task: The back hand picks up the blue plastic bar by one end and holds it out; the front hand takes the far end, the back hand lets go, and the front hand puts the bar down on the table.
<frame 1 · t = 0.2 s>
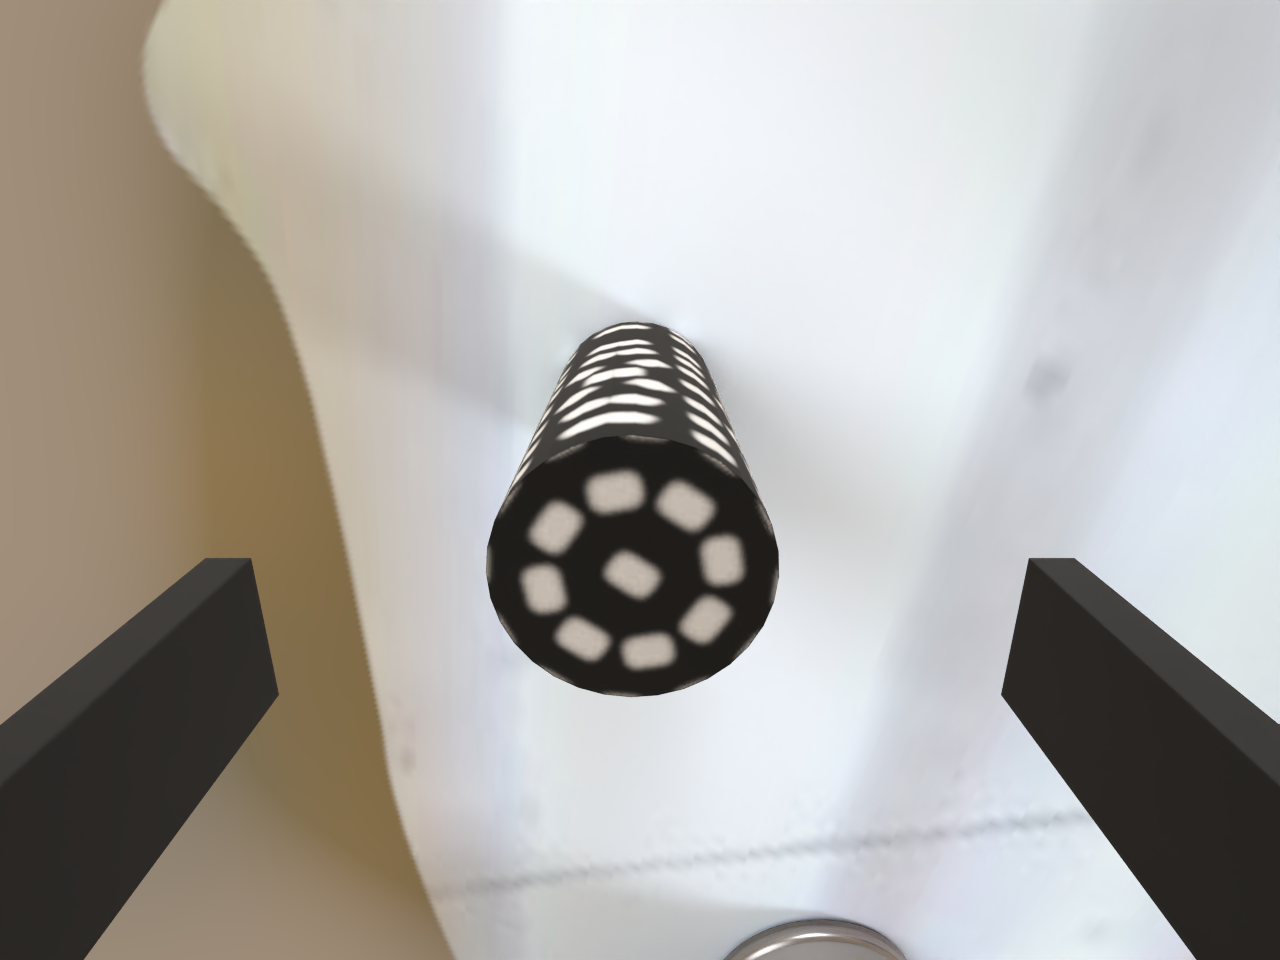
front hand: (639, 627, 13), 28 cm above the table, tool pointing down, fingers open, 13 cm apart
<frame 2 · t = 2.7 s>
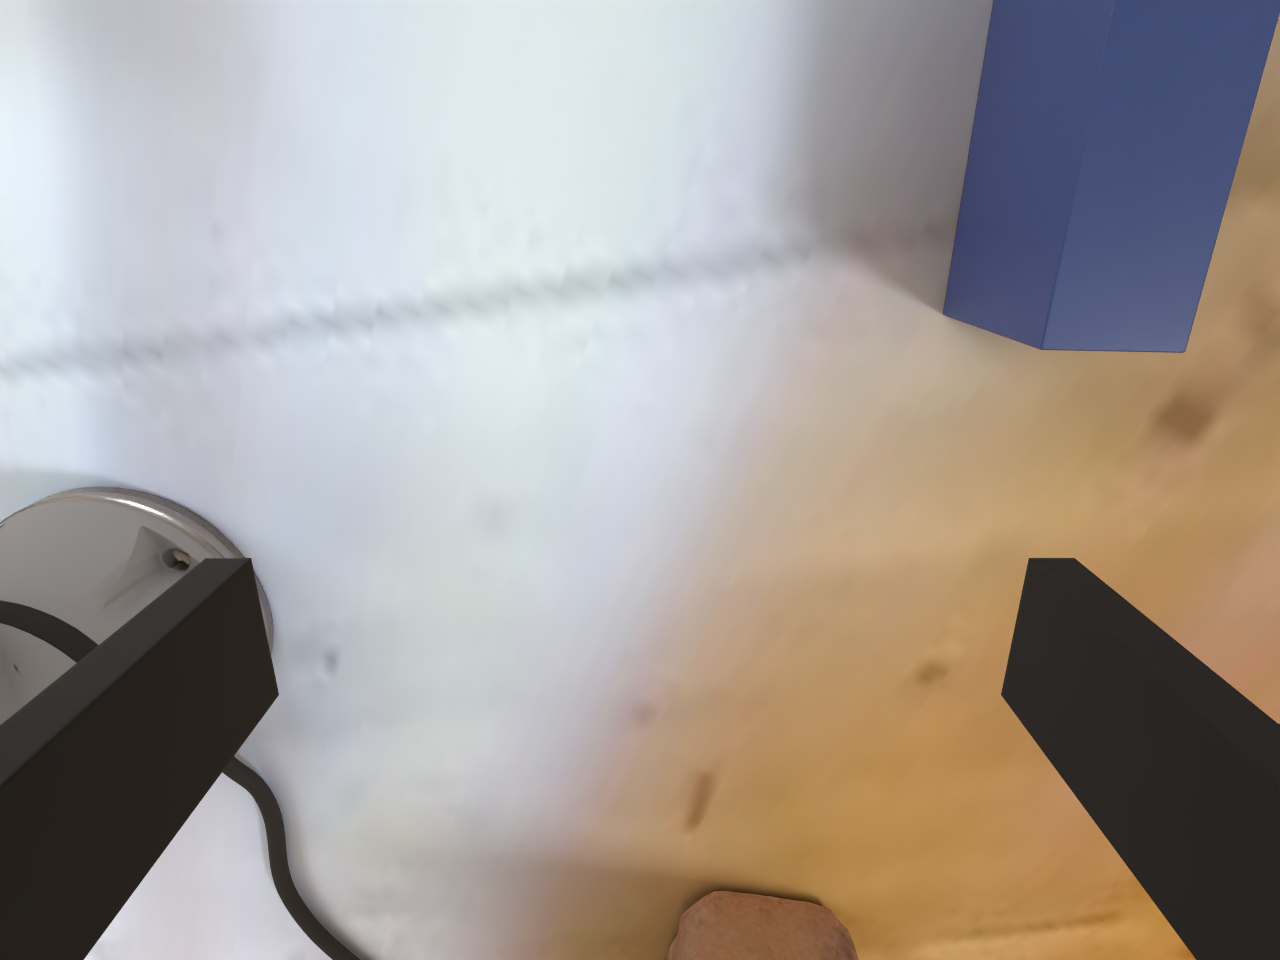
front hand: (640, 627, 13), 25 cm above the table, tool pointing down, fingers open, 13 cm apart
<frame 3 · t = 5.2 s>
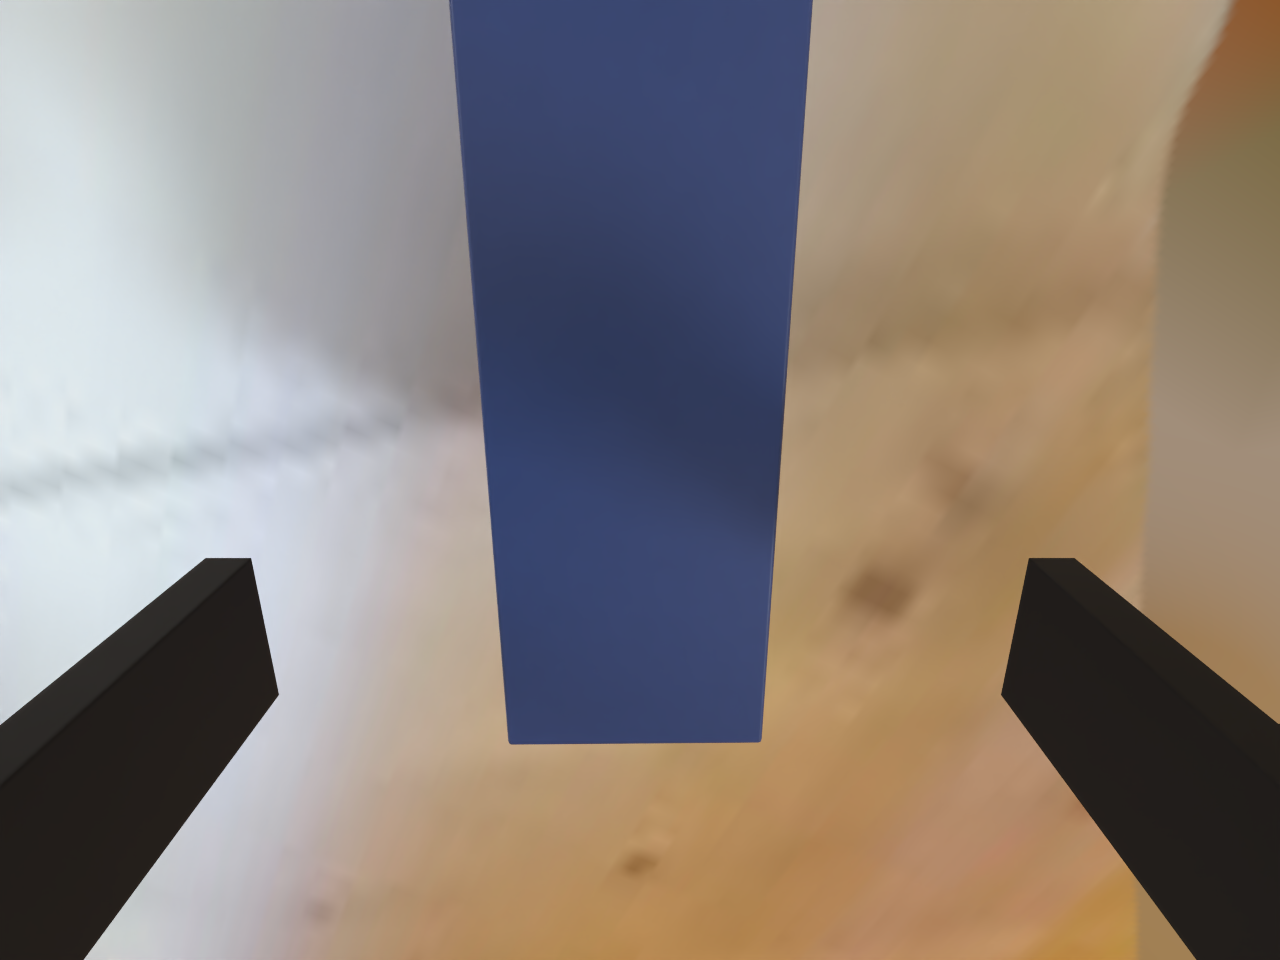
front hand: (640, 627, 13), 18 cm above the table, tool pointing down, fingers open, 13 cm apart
bar: (631, 77, 20), point 7 cm above the table, touching back hand
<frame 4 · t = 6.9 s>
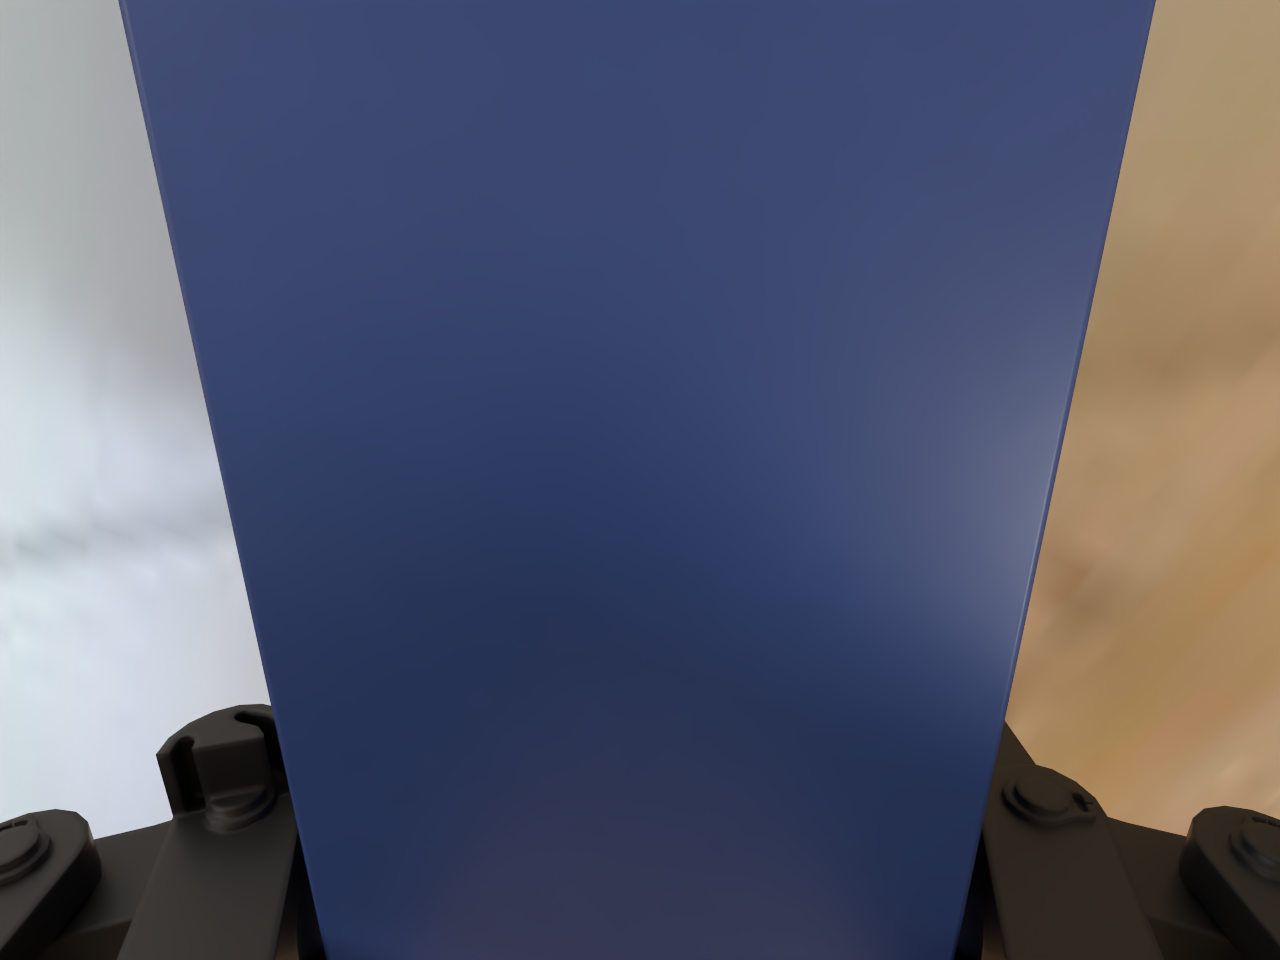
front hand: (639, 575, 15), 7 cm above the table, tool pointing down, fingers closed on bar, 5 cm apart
when the back hand's fingers open (11 cm above the table, at t = 7.8 s): bar stays where it is, held by the front hand.
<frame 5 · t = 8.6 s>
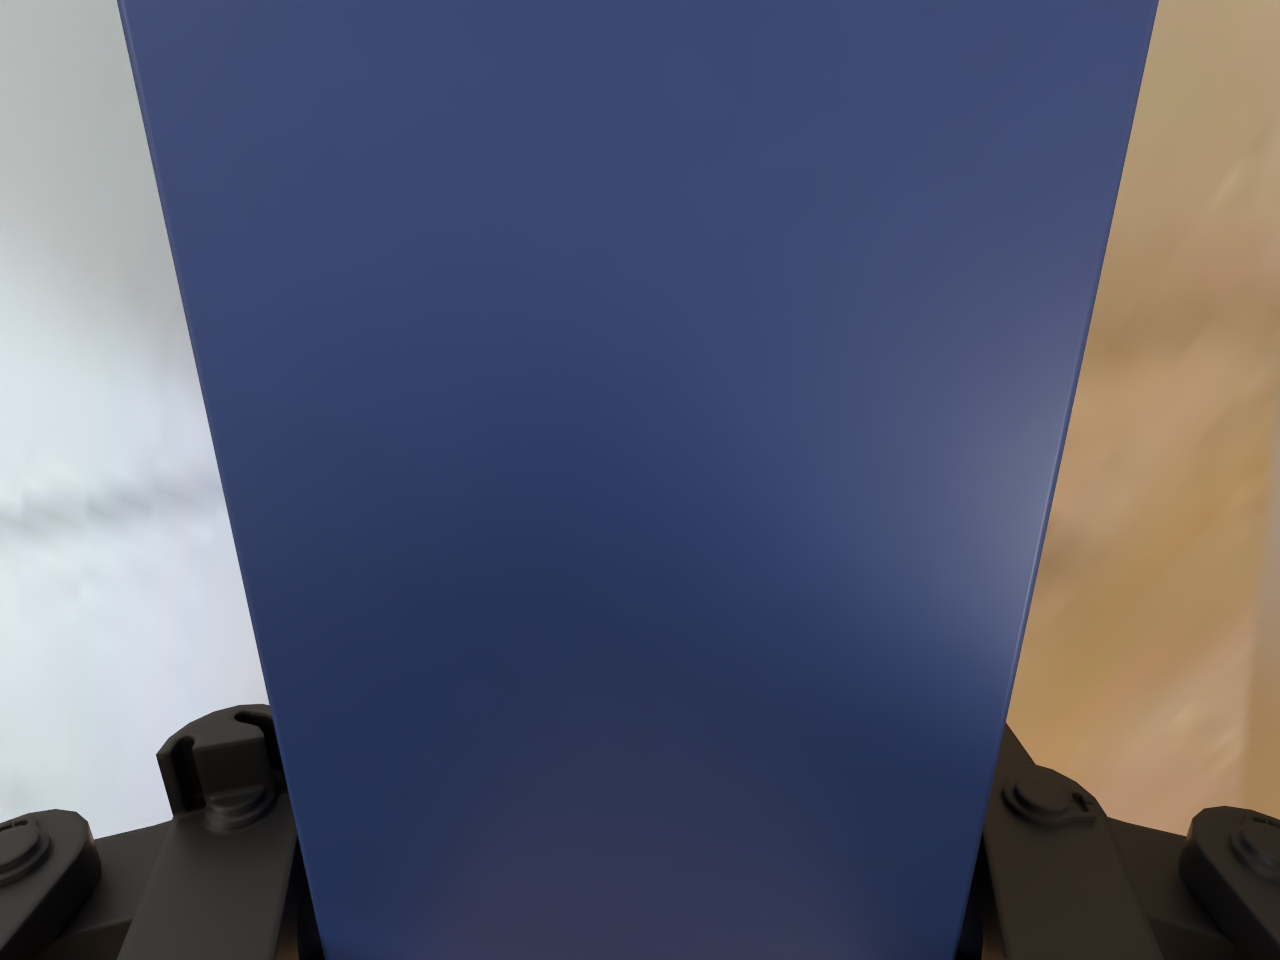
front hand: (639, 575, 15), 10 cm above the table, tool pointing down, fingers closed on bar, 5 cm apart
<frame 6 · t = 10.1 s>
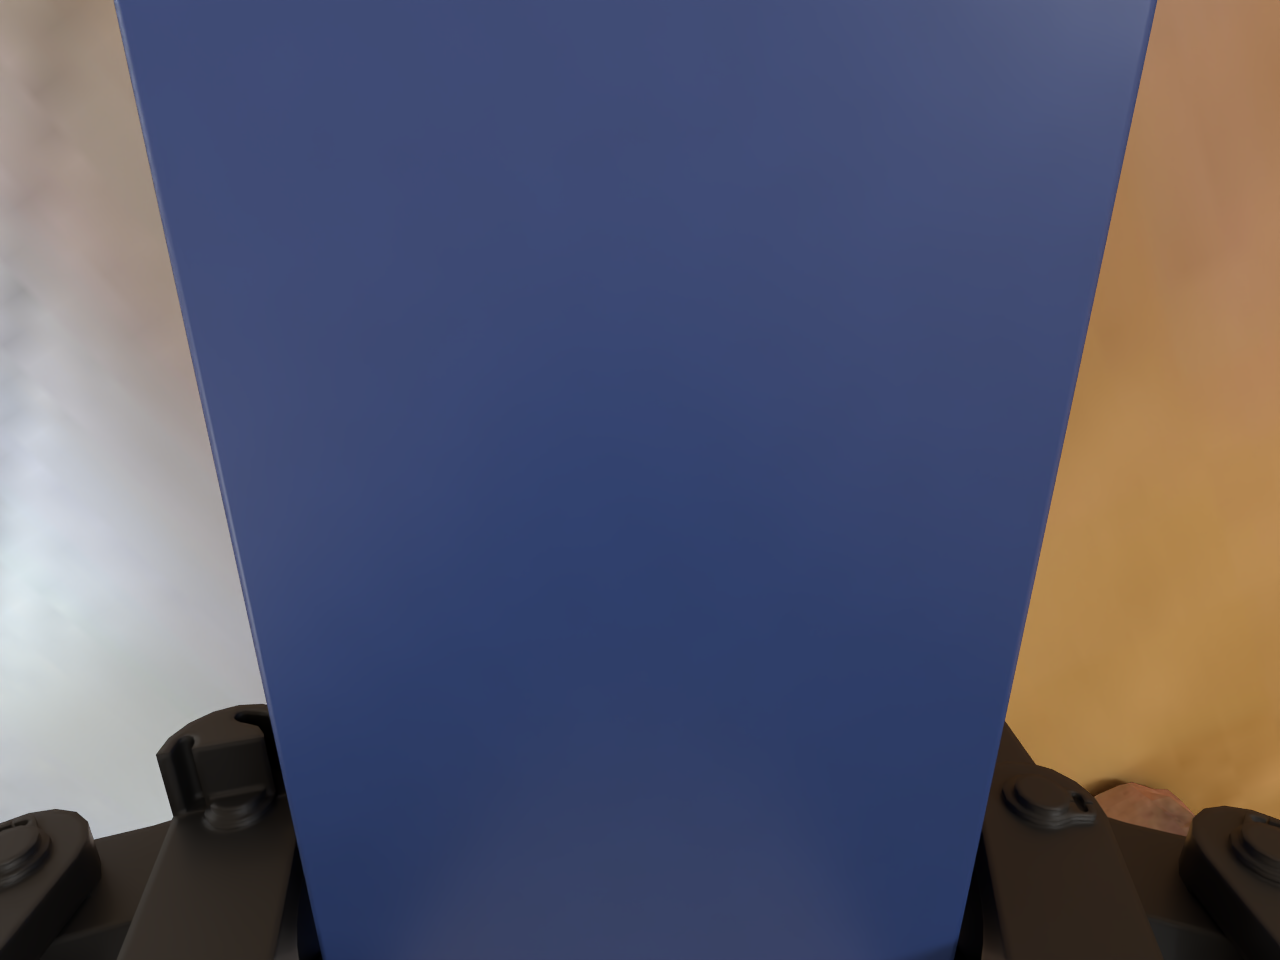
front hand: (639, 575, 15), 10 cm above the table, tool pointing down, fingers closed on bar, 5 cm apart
stone: (1151, 952, 32), on the table
when the front hand's fingers open (2 cm above the table, at t = 11.4 s): bar drops 1 cm, on the table.
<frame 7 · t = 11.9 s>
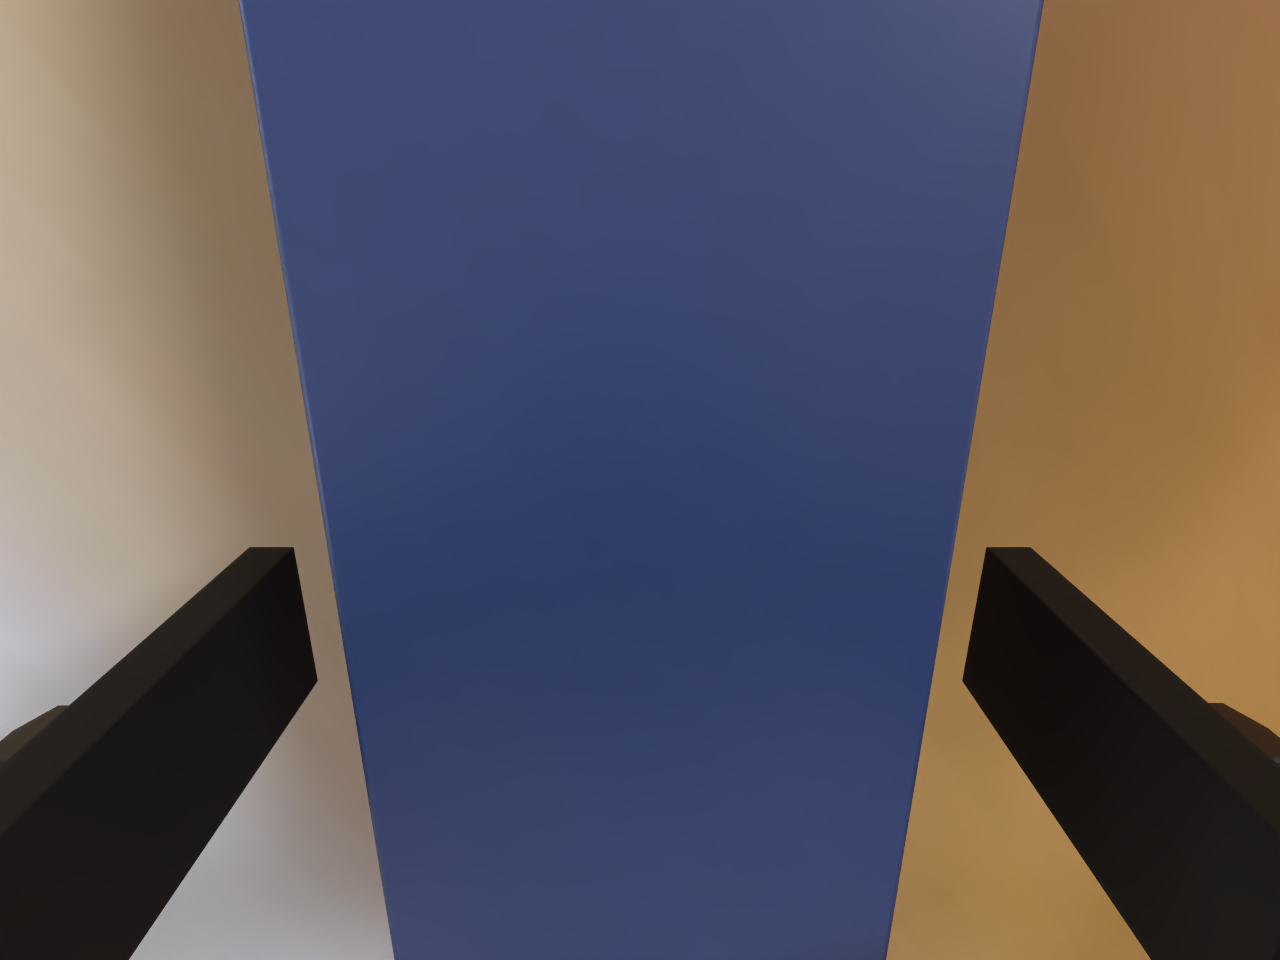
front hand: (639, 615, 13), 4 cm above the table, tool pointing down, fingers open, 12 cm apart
bar: (640, 24, 13), on the table
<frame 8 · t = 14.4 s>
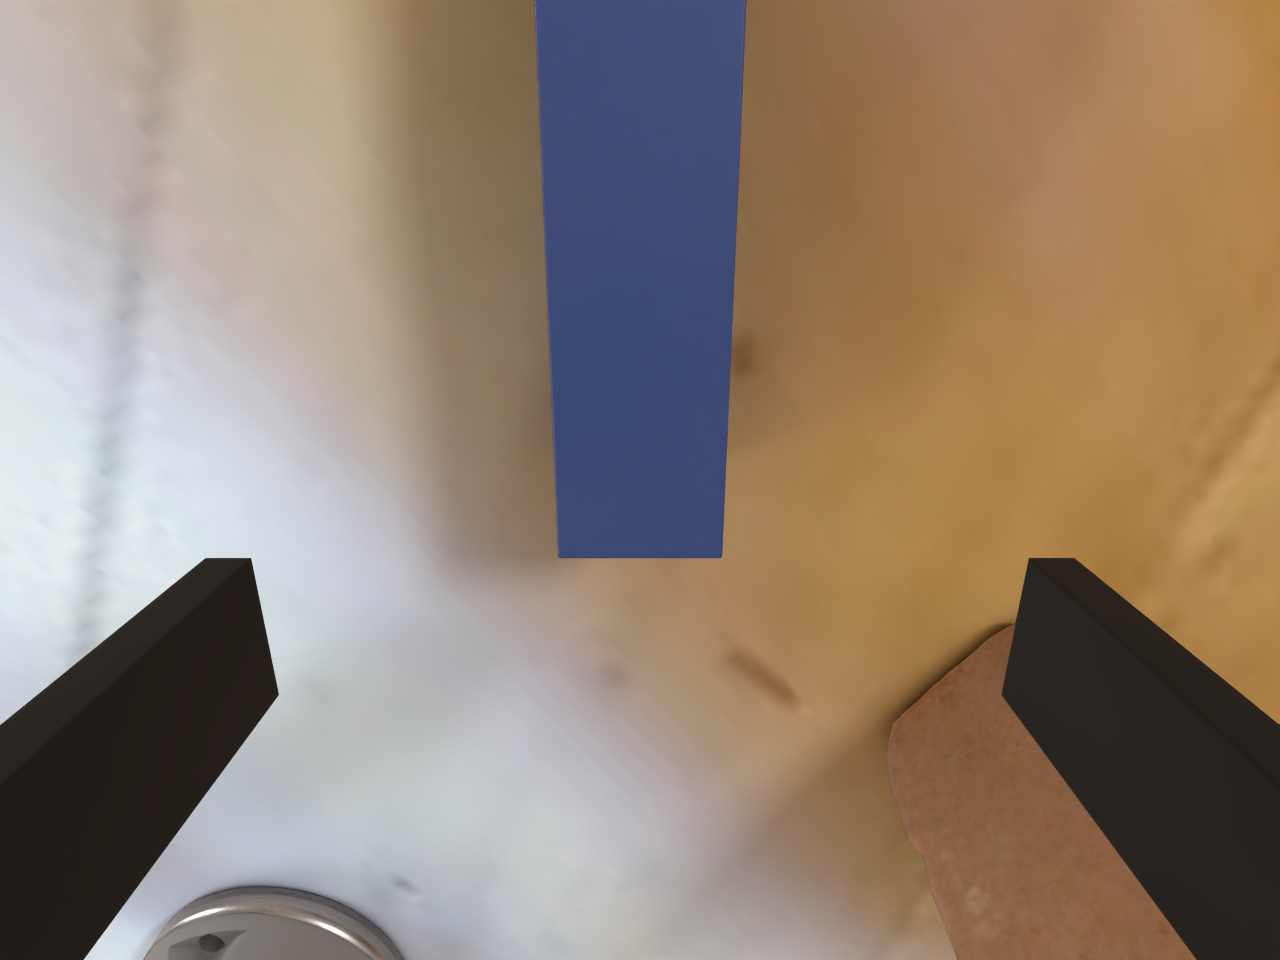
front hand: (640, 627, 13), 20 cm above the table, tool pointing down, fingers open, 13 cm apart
bar: (640, 121, 28), on the table
stone: (1058, 775, 39), on the table
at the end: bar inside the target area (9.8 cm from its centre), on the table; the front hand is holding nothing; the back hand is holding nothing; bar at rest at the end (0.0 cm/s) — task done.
